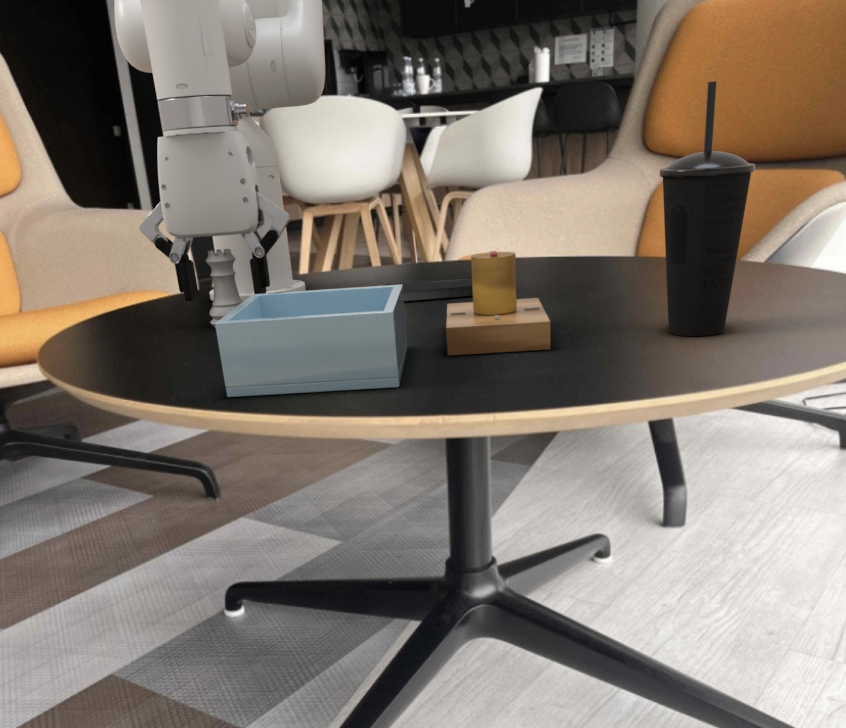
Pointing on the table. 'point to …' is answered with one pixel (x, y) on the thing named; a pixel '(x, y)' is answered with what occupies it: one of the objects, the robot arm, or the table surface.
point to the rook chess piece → (223, 284)
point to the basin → (314, 341)
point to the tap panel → (497, 329)
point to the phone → (436, 288)
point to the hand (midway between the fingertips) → (226, 295)
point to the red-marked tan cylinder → (494, 283)
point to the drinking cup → (703, 232)
